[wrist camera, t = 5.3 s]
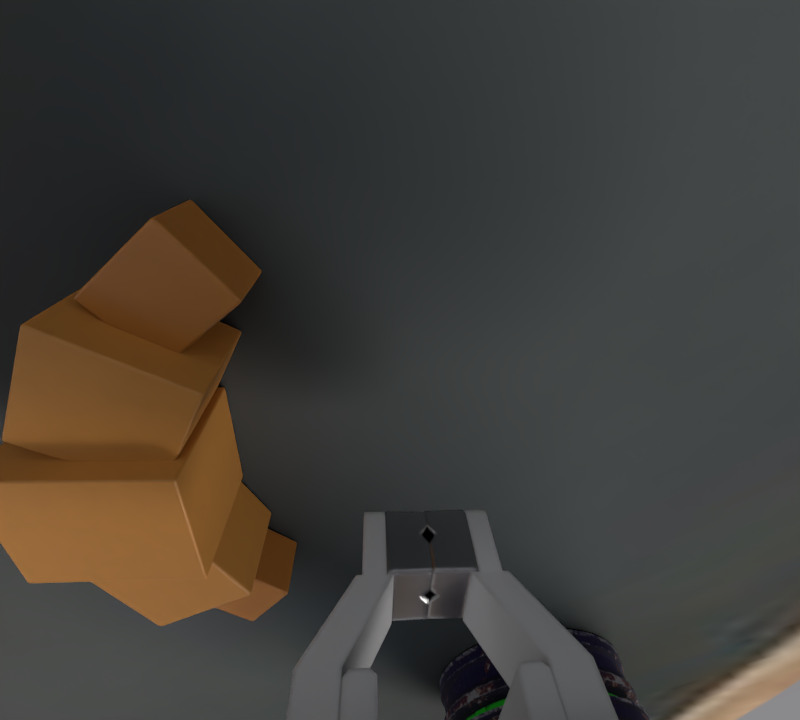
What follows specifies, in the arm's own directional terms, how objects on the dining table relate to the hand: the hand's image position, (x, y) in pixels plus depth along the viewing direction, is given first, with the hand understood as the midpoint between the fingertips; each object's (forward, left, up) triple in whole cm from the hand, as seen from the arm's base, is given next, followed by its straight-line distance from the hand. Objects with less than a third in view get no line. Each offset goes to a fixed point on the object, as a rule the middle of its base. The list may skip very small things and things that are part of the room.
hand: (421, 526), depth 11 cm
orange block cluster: (0, -8, -3) cm, 8 cm away
